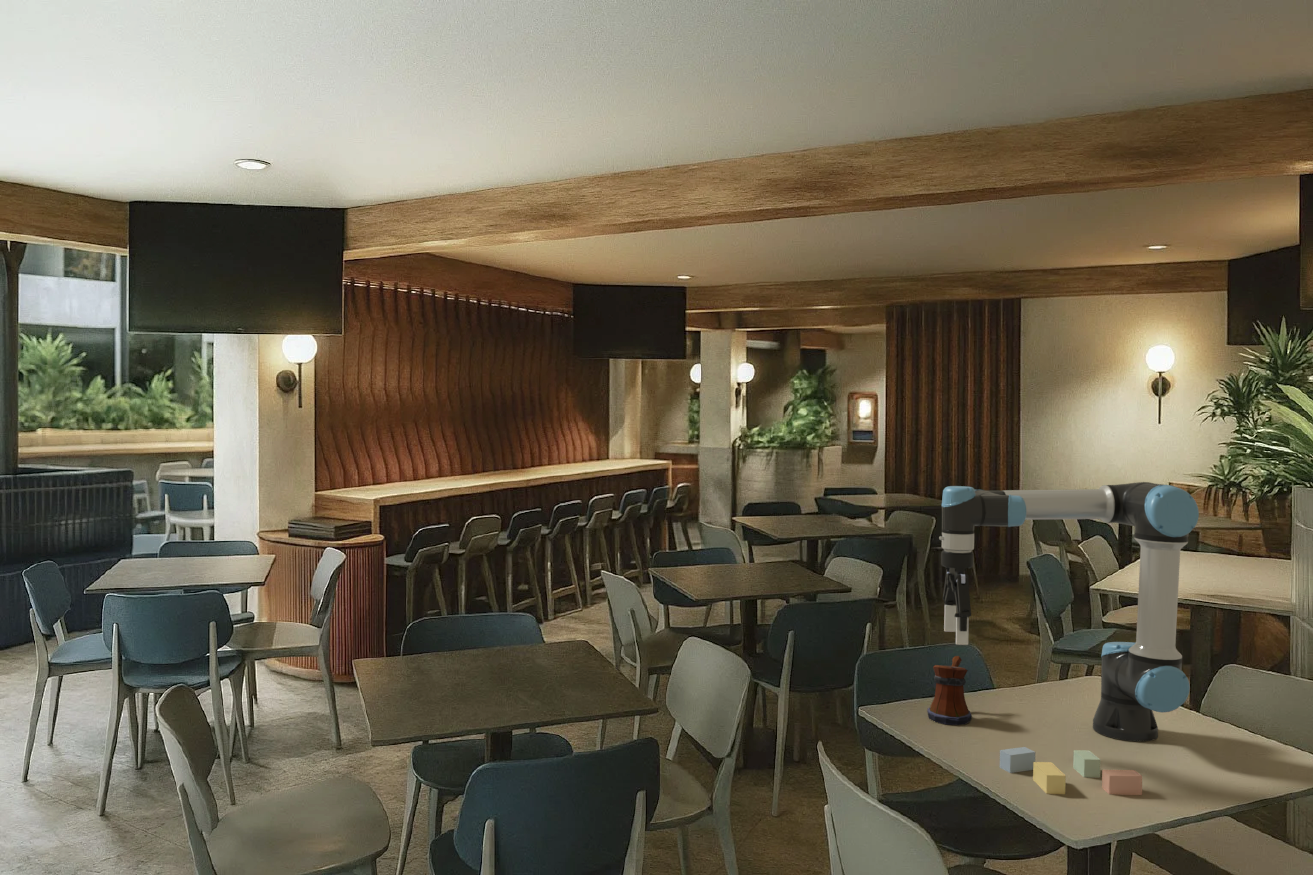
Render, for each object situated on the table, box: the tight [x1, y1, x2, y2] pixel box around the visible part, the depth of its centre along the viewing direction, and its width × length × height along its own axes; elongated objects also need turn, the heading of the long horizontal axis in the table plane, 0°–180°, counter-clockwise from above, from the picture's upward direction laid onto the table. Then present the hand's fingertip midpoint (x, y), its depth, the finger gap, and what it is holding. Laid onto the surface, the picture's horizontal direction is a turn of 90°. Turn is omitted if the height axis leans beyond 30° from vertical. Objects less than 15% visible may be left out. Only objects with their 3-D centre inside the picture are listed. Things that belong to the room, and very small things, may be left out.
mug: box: [926, 655, 973, 726], centre depth 269 cm, size 18×12×15 cm, turn 154°
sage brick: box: [1072, 749, 1102, 779], centre depth 228 cm, size 6×4×4 cm, turn 0°
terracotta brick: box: [1101, 769, 1143, 796], centre depth 217 cm, size 7×4×4 cm, turn 89°
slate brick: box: [999, 746, 1036, 774], centre depth 230 cm, size 7×4×4 cm, turn 110°
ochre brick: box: [1032, 761, 1067, 795], centre depth 219 cm, size 8×4×4 cm, turn 179°
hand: (955, 637), depth 242 cm, fingers open, 13 cm apart
